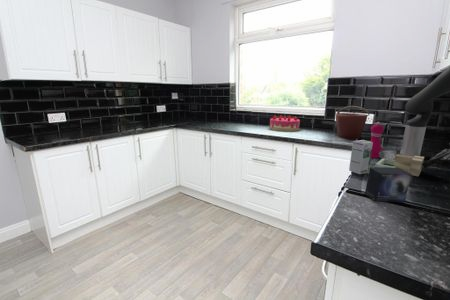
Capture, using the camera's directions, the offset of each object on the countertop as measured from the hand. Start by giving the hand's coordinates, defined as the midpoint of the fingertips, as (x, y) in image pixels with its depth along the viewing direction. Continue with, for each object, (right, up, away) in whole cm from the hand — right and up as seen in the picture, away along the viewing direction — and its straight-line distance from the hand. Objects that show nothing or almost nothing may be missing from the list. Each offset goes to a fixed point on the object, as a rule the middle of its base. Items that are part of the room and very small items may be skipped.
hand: (423, 166), depth 105 cm
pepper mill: (-5, +3, +29) cm, 29 cm away
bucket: (+11, +17, +85) cm, 88 cm away
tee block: (-4, -3, +5) cm, 7 cm away
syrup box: (-28, -3, +3) cm, 28 cm away
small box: (-34, -10, -24) cm, 43 cm away
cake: (-32, +27, +123) cm, 130 cm away
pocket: (-9, -1, +10) cm, 14 cm away
